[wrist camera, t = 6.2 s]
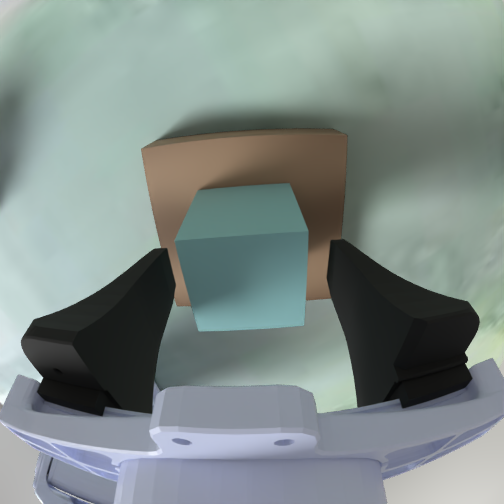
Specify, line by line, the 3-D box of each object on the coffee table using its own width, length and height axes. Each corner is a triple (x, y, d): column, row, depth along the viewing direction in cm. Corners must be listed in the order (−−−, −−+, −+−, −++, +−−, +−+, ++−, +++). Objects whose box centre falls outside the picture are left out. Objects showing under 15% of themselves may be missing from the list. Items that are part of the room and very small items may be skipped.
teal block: (290, 260, 16) (303, 325, 12) (210, 265, 16) (198, 331, 12) (289, 182, 14) (308, 231, 9) (197, 190, 14) (174, 240, 9)
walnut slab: (323, 271, 20) (333, 298, 17) (184, 278, 20) (176, 306, 18) (330, 127, 15) (347, 135, 12) (158, 138, 15) (141, 148, 12)
